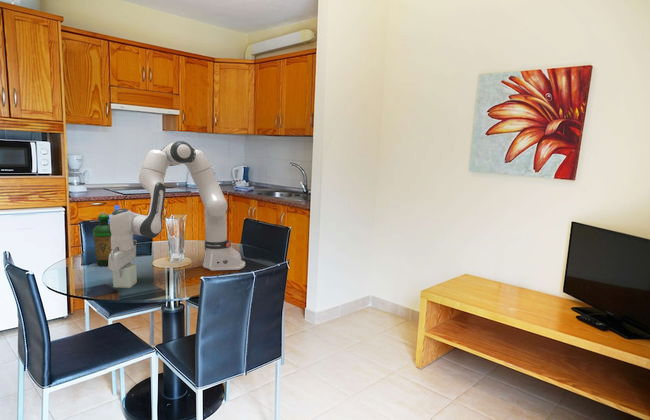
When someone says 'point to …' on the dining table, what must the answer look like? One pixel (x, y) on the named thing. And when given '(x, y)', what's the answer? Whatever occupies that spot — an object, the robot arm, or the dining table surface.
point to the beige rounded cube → (126, 276)
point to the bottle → (102, 239)
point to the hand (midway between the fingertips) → (123, 274)
